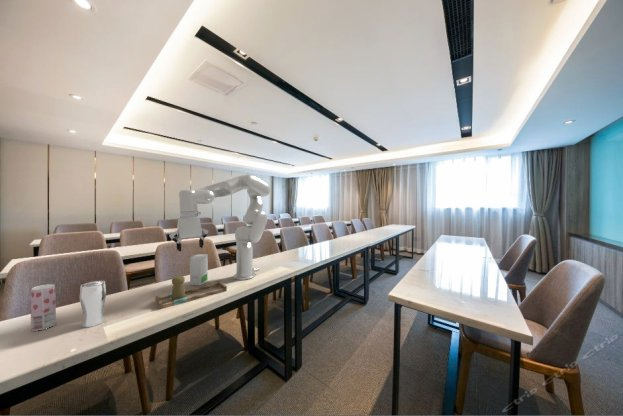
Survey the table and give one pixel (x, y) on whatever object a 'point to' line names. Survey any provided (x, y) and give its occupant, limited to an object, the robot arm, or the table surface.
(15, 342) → the table surface
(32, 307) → the beverage can
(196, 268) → the skincare box
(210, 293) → the brown wooden tray
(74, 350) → the table surface
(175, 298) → the cork
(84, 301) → the beer glass
